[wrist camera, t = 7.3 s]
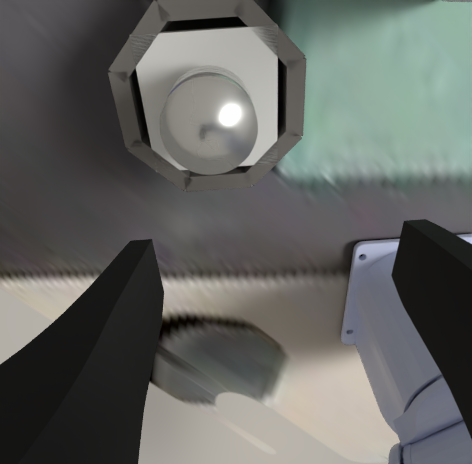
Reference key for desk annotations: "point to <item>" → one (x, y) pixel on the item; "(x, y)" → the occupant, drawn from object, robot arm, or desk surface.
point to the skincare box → (458, 0)
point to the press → (209, 54)
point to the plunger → (209, 121)
